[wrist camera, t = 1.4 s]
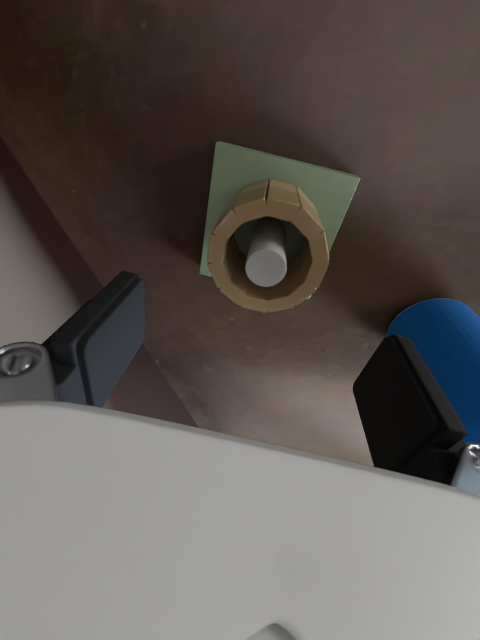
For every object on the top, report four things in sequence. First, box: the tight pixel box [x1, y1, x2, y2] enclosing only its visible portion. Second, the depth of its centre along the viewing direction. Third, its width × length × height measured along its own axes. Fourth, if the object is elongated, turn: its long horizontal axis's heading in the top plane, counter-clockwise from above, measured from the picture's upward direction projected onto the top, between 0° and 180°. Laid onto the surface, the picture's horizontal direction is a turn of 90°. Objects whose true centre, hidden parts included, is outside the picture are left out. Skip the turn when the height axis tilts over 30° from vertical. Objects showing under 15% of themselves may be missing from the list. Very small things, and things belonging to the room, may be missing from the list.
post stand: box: [200, 141, 360, 300], centre depth 17 cm, size 9×9×7 cm
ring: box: [207, 179, 329, 313], centre depth 17 cm, size 7×7×5 cm
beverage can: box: [386, 298, 480, 444], centre depth 19 cm, size 6×6×12 cm
